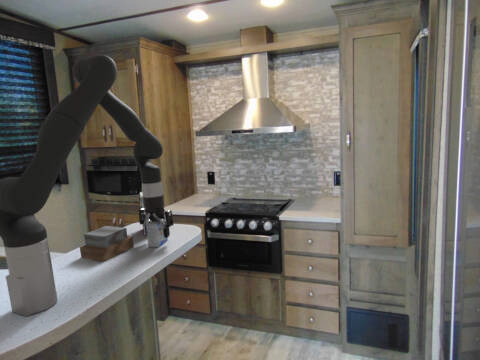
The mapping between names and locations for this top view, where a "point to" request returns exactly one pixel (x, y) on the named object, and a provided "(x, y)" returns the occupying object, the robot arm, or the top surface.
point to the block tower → (106, 243)
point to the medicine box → (155, 234)
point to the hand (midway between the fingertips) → (157, 236)
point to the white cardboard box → (141, 208)
